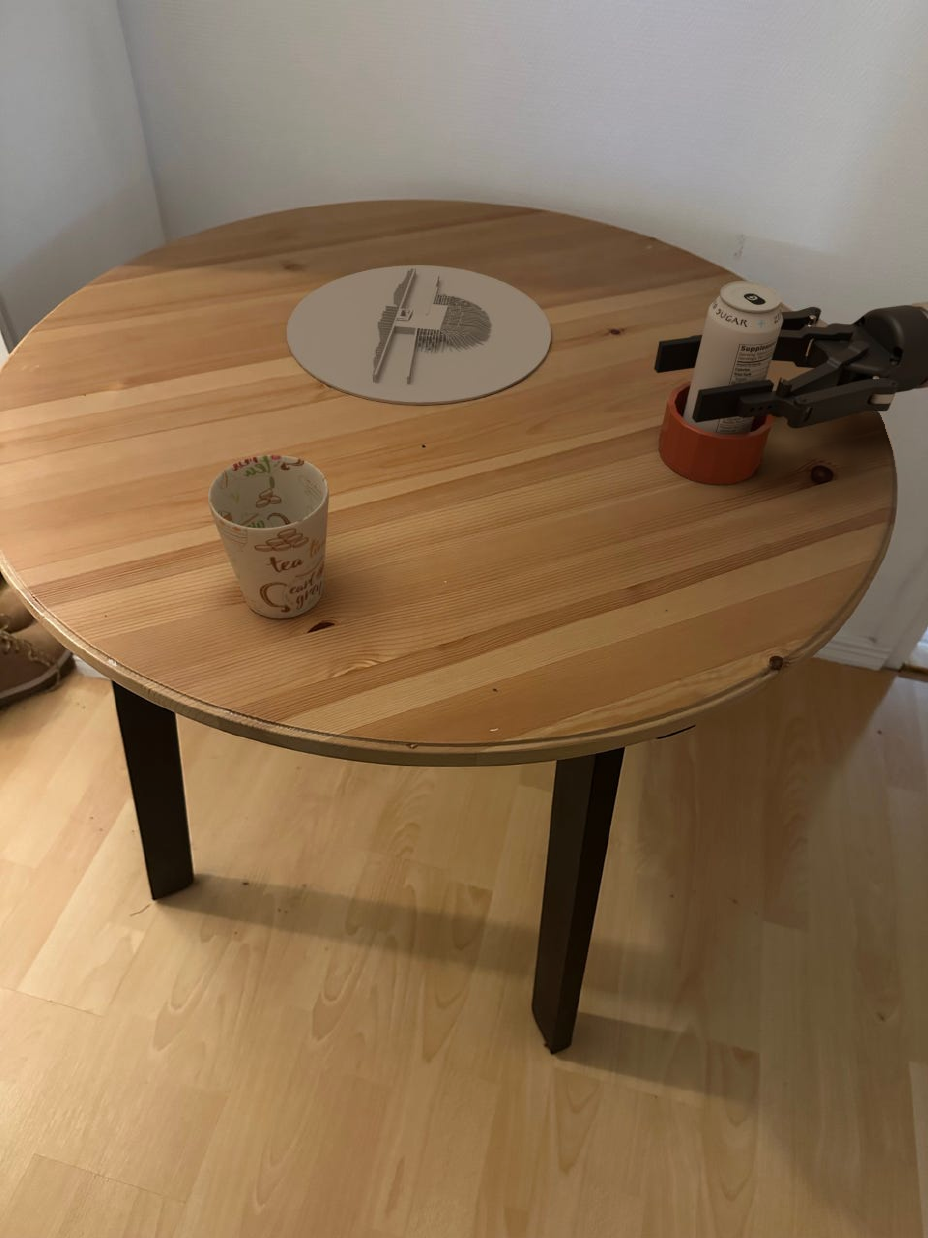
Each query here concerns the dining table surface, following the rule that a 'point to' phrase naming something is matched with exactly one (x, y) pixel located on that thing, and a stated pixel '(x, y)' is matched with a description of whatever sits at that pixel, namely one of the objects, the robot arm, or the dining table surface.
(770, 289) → the energy drink can
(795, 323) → the robot arm
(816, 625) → the dining table surface
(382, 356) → the plate
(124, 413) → the dining table surface
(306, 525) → the mug
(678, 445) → the holder
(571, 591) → the dining table surface
